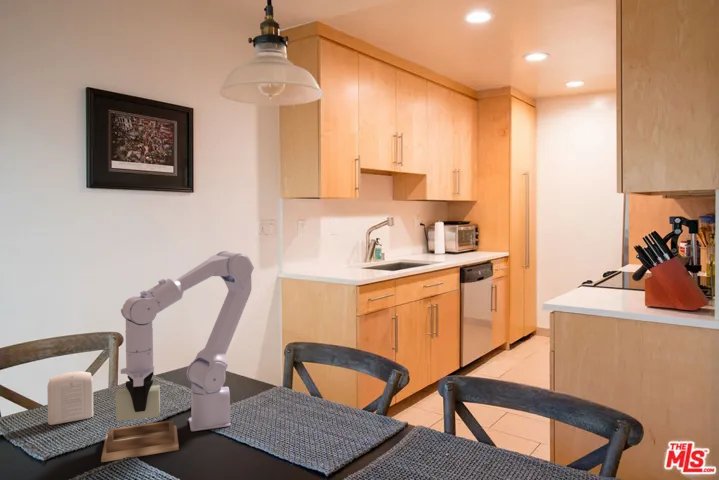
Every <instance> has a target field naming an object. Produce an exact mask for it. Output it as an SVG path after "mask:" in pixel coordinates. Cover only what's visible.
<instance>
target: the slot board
mask: <svg viewBox="0 0 719 480" xmlns="http://www.w3.org/2000/svg"><path fill="white" fill-rule="evenodd" d="M177 427H178V426H177V425H174V420H173V419H172V420H171V419H170V420H166V421H165V420H164V421H158V422H151V423H143V424H135V425H130V426H128V425H127V426H123V427H122V426H121V427H115V428H109V429H108V432H107V433H108V434H107V435H105V439H104V443H103V444H104V445H103V448H102V453H101V458H100V462H101V463H104V462H105V463H106V462H111V461H118V460H124V459H123V458H125V459H127V458H126V457H131V458H137V457H143V456H144V457H145V456H149V455H155V454H161V453H163V454H164V453H167V452H175V451H179V449H180V448H179V446H180V445H179V438H178V429H177Z"/></svg>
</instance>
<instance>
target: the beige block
mask: <svg viewBox="0 0 719 480" xmlns="http://www.w3.org/2000/svg"><path fill="white" fill-rule="evenodd" d="M160 387H161V385H160V384H157V385H155V384H154V385H152V386H151V388H150V390H149V393H148V397H147V404H146V409H145V411H141V412H135V410H134V407H133V402H132V398H131V395H130V393H129V391H128V389H127V388H126V387H125V388H124V387H123V388H117V390H116V393H115V396H114V397H115V422H121V421H122V422H123V421H129V420H140V419H147V418H157V417H160V414H161V413H160V412H161V389H160Z"/></svg>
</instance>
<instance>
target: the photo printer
mask: <svg viewBox="0 0 719 480" xmlns="http://www.w3.org/2000/svg"><path fill="white" fill-rule="evenodd" d="M91 417H92V418H93V417H94V379H93V377H92V373H91V372H88V371H82V370H80V371H79V370H78V371H69V372H64V373H61V374H57V375H54V376H52V377H50V378H49V380H48V383H47V424H48V425H50V426H53V425H59V424H64V423H70V422H76V421H82V420H87V419H91Z"/></svg>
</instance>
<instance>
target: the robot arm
mask: <svg viewBox="0 0 719 480" xmlns="http://www.w3.org/2000/svg"><path fill="white" fill-rule="evenodd" d="M253 271H254V265H253V263H252V261H251V258H250V257H249V256H248V255H247V254H246V253H241V252H239V253H236V252H230V251H228V250H223V251H220V252H217V254H213V255H211V256H209V257H208V258H207V259H206V260H204V261H203V262H201V263H200V264H199V265H197V266H195V267H194V268H192V269H190V270H189V271H188V272H186V273H185V274H182V276H179V277H178V278H177V279H173V278H167V279H165V278H161V279H160V280H158V284H156V285H154V286H153V287H151V288H149V289H148V290H142V291H140V293H139V294H140V295H139V296H137V295H135V296H131V297H129V298H127V299H126V300H125V302H124V303H123V305H122V308H121V309H120V313H121V315H122V317H123V318H124V319H125V362H126V363H125V364H126V365H125V366H126V367H124V368H121V369H120V374H123V375H124V374H125V375H127V379H128V380H127V381H125V388H127V389H128V391H129V393H130V395H131V398H132V402H133V407H134V410H135V412H141V411H145V409H146V404H147V397H148V393H149V390H150V388H151V386H153V384H154V379H153V380H152V378H153V376H154V374H155V373H154V372H155V366H154V339H153V336H154V335H153V333H154V331H153V329H154V328H153V321H154V320H155V319H156V317H157V315H158V313H161V312H162V311H164V310H166V309H167V308H169V307H170V306H172V305H174V304H175V303H177V302H178V301H180V300H181V299H182V298H183V295H184V292H185V291H187V290H189V289H191V288H193V287H195V286H196V285H198V284H200V283H202V282H204V281H206V280H208V279H209V278H211V277H220V278H221V280H223V282H224V283H225V285H226V288H227V291H228V292H227V294H226V296H225V298H224V302H223V304H222V306H221V308H220V310H219V313H218V316H217V318H216V321H215V322H214V325H213V326H212V327H213V328H212V329H211V330H212V331H211V333H210V335H209V337H208V339H207V342H206V344H205V346H204V347H203V349H201V350H200V351H199V352H198V353H197V354H196V357H195V358H194V360H193V361H191V363H190V364H189V365H188V367H187V369H186V378H187V380H188V381H189V382H190V383H191V387H190V393H191V395H190V397H191V398H190V401H191V403H190V404H191V405H190V406H191V410H190V411H191V416H190V417H189V418H188V423H189V428H190V431H191V432H198V431H204V430H211V429H218V428H224V427H230V426H231V424H232V423H231V415H232V413H231V396H230V395H231V394H230V388H229V386H224V384H225V382H226V372H227V368H228V366H229V365H228V364H229V363H228V360H227V357H226V354H227V351H228V350H229V347H230V344H231V342H232V339H233V337H234V334H235V332H236V329H237V328H238V324H239V322H240V320H241V317H242V314H243V312H244V310H245V307H246V305H247V303H248V301H249V297H250V296H251V295H250V294H251V293H252V274H253Z"/></svg>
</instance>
